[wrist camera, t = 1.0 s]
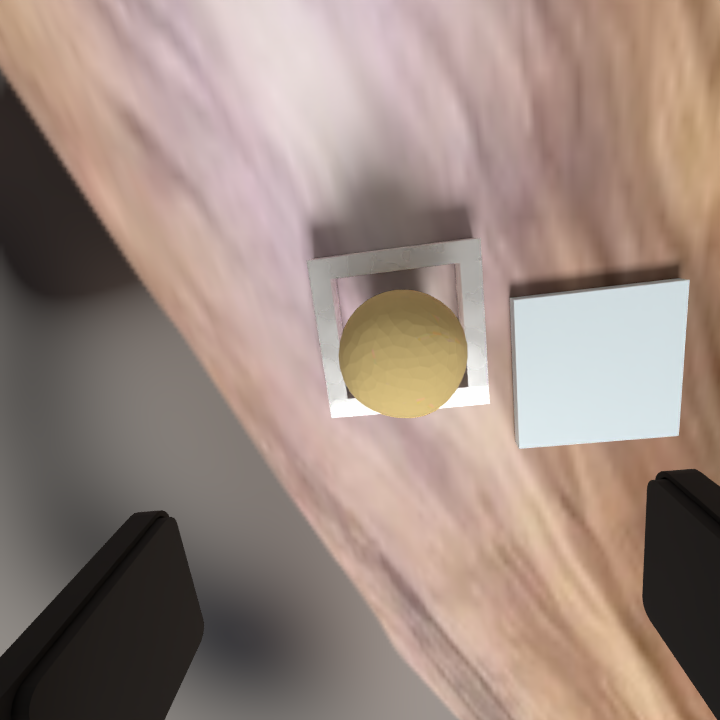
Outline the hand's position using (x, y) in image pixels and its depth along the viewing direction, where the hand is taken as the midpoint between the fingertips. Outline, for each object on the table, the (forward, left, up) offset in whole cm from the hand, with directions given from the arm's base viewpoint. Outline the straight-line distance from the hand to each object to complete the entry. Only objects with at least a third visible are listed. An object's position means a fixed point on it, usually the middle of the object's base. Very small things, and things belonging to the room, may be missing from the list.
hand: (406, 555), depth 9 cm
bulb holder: (0, 0, -21) cm, 21 cm away
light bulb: (0, 0, -21) cm, 21 cm away
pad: (-12, +4, -21) cm, 25 cm away
